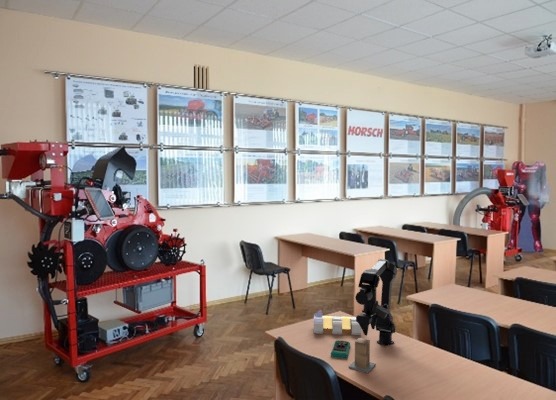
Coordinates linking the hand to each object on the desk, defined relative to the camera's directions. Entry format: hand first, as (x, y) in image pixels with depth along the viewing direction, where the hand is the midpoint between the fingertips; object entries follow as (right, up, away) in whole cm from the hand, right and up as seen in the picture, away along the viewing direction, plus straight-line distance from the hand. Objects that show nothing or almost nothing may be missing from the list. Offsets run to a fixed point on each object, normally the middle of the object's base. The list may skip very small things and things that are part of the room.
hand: (369, 332), depth 193 cm
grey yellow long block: (-10, -11, +36) cm, 39 cm away
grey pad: (-5, -13, -6) cm, 15 cm away
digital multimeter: (-12, -13, +10) cm, 20 cm away
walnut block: (-5, -13, -6) cm, 15 cm away
